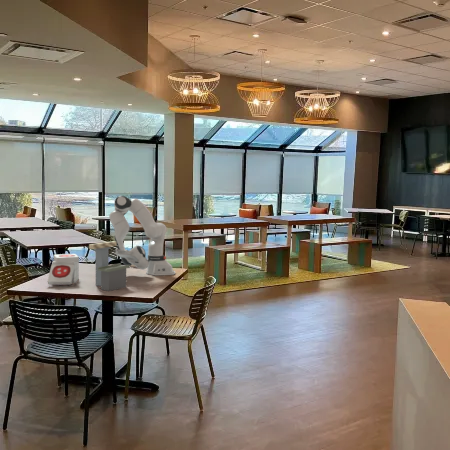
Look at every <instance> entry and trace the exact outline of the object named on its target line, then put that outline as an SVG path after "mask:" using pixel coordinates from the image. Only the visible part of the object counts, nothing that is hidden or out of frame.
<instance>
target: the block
mask: <svg viewBox="0 0 450 450" xmlns="http://www.w3.org/2000/svg"><path fill="white" fill-rule="evenodd" d="M105 247H111V248H112V247H117V242H116V241H115V240H113V241H105V242H97V243H89V244H88V249H89V250H96V249H98V248H105Z"/></svg>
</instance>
